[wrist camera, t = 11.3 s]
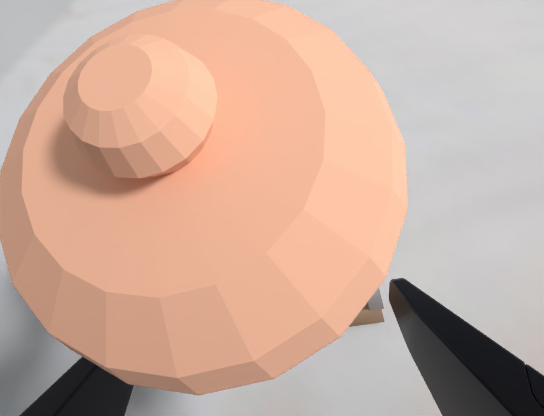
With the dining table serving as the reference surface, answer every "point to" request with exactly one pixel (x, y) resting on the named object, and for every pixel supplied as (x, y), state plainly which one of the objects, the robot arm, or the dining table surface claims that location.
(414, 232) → the dining table surface
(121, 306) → the pepper shaker
